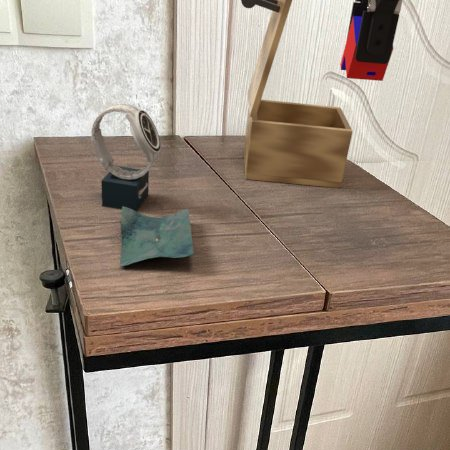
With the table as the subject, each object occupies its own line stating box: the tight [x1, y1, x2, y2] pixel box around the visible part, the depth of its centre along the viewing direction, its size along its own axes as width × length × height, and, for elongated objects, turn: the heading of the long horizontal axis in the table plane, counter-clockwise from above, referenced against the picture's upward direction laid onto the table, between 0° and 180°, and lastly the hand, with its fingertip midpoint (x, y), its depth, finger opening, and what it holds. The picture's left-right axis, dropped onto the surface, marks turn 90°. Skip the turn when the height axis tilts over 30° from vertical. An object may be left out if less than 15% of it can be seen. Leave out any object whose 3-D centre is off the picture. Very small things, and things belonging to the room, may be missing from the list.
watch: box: [90, 103, 162, 212], centre depth 75 cm, size 6×8×11 cm
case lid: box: [240, 0, 293, 118], centre depth 82 cm, size 14×12×6 cm
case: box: [243, 98, 353, 189], centre depth 90 cm, size 14×12×8 cm
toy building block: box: [339, 16, 394, 82], centre depth 60 cm, size 4×4×8 cm
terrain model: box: [119, 206, 195, 267], centre depth 70 cm, size 13×8×2 cm, turn 5°
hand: (366, 53), depth 61 cm, fingers closed on toy building block, 4 cm apart
